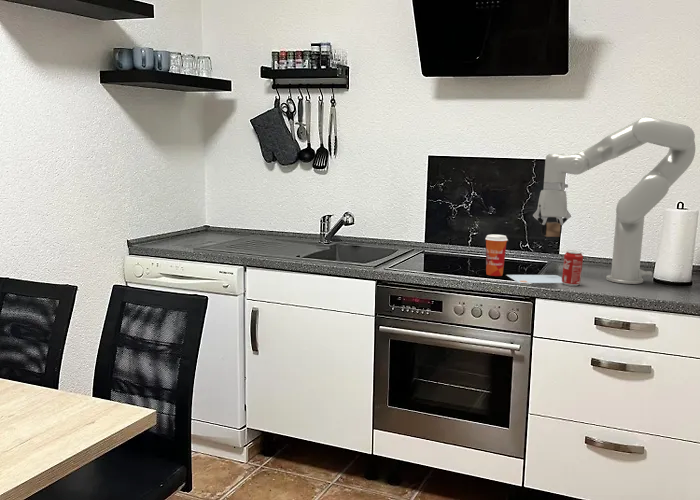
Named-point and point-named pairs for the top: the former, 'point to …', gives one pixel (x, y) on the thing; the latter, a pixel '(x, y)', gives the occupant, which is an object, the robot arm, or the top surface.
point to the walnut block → (552, 229)
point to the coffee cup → (495, 254)
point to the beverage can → (572, 268)
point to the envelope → (536, 278)
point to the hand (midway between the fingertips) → (550, 234)
